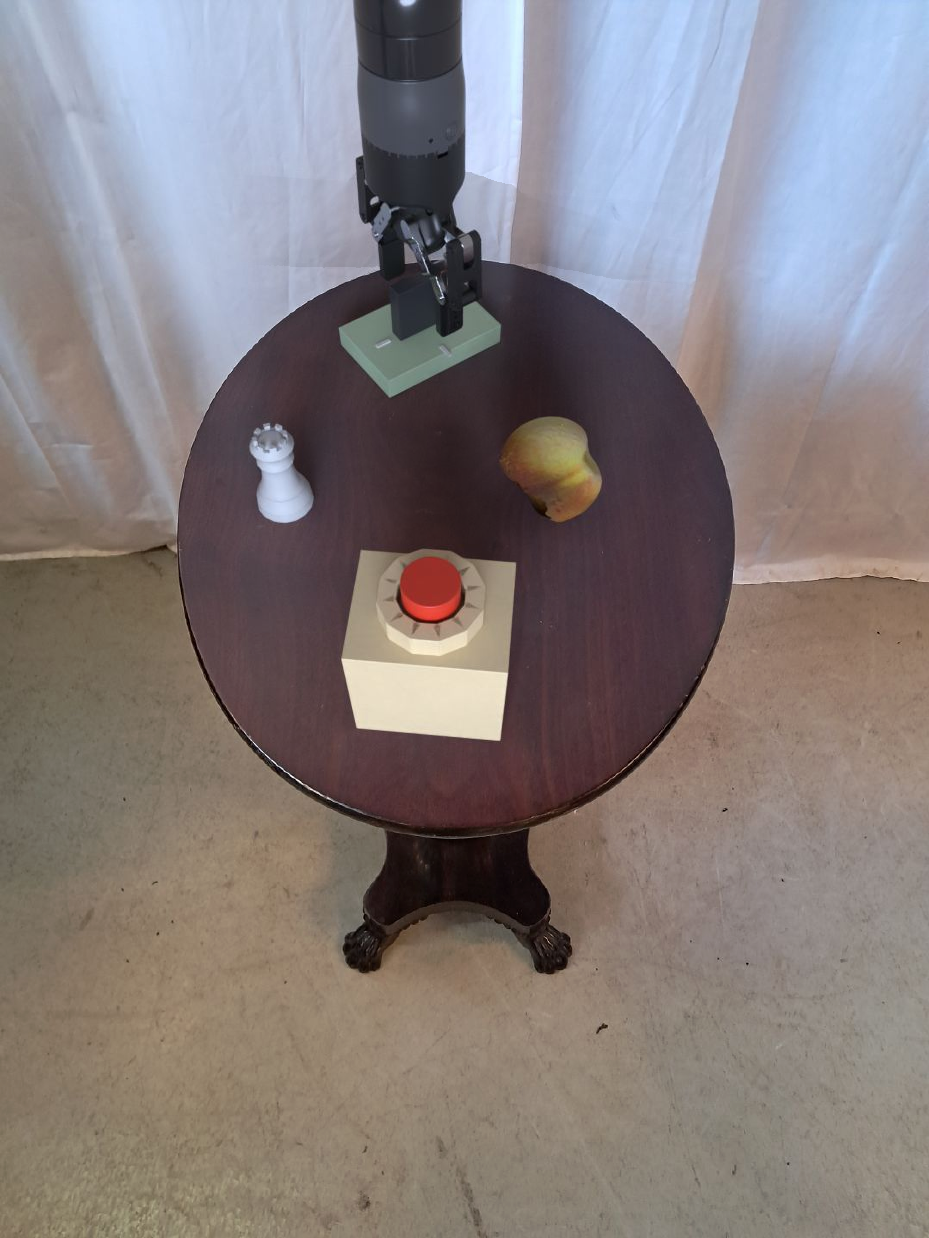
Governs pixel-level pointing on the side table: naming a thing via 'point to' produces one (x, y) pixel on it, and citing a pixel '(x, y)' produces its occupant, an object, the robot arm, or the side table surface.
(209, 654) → the side table surface
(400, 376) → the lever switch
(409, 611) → the red push button
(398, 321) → the black box
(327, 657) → the side table surface
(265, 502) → the rook chess piece
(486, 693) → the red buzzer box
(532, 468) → the fruit
